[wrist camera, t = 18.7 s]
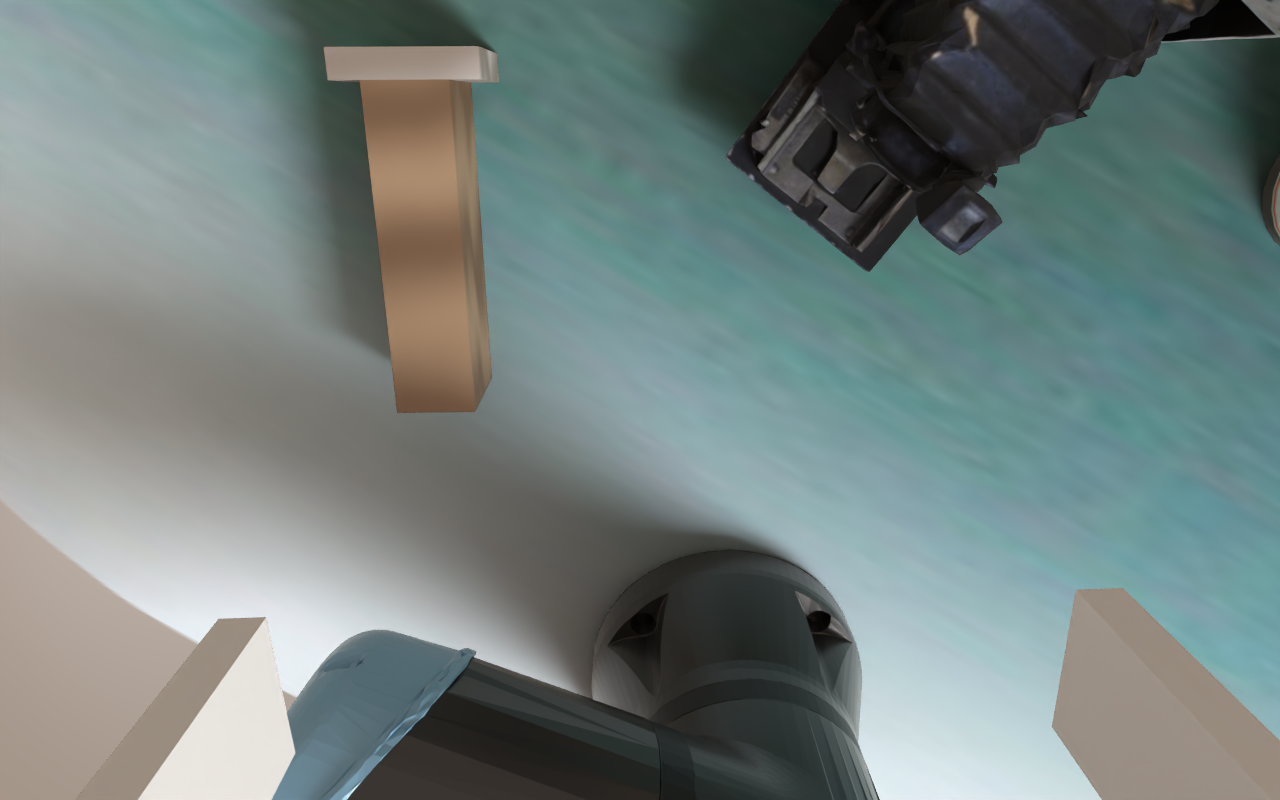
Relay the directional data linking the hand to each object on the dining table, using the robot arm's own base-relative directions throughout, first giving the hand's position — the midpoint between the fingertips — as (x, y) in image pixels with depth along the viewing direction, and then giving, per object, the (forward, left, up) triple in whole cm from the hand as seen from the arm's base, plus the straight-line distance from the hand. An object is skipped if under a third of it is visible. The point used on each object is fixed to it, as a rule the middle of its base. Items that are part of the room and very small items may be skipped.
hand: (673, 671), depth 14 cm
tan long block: (+3, +9, -29) cm, 30 cm away
